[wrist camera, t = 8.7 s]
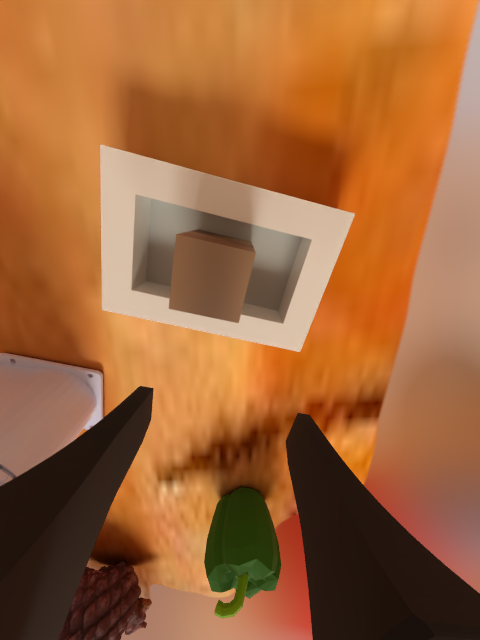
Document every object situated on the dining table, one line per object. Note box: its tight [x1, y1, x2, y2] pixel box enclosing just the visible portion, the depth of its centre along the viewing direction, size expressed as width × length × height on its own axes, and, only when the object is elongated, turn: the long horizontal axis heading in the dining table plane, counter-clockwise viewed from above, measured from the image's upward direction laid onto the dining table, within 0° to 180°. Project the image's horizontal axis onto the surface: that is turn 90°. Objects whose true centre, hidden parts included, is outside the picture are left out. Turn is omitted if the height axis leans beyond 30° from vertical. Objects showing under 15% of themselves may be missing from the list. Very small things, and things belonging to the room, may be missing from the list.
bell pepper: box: [204, 487, 281, 618], centre depth 26 cm, size 8×8×10 cm
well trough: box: [100, 144, 355, 352], centre depth 16 cm, size 15×10×3 cm, turn 77°
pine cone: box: [58, 560, 152, 640], centre depth 33 cm, size 18×10×10 cm, turn 59°
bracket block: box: [169, 229, 256, 323], centre depth 15 cm, size 4×4×6 cm
